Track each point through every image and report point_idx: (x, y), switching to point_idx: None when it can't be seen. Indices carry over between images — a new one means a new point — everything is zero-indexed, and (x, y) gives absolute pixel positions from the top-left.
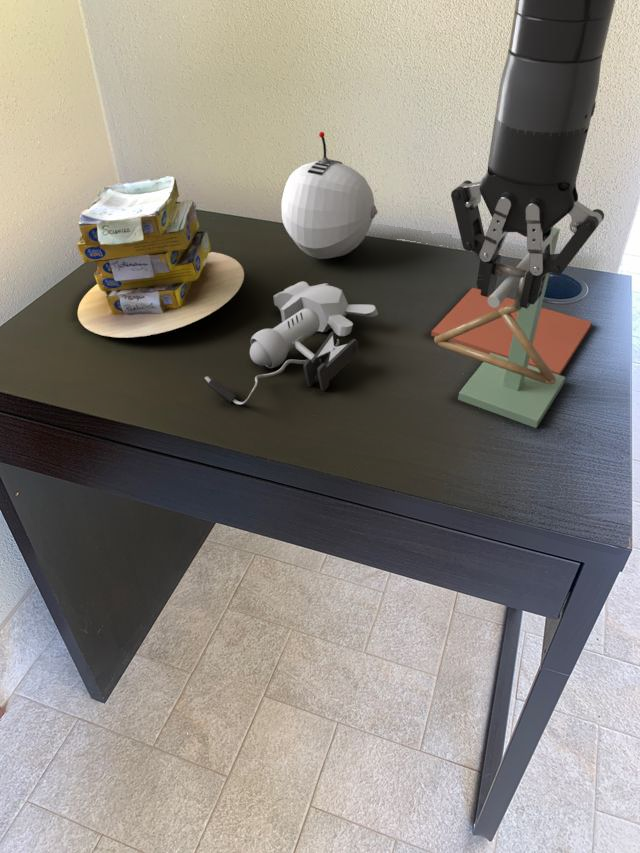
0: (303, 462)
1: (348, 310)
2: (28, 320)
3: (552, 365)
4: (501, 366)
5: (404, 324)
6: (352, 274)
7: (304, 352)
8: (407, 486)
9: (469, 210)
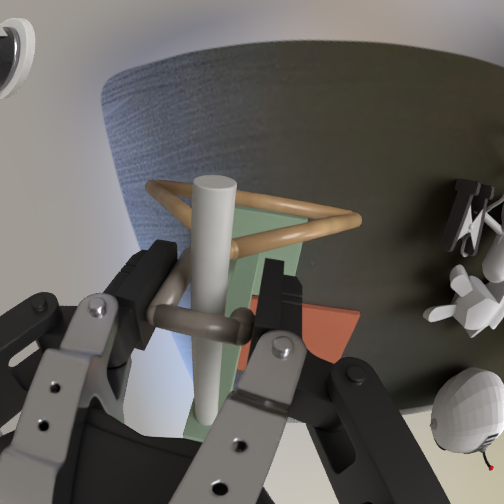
0: (439, 54)
1: (454, 306)
2: None
3: None
4: None
5: (389, 318)
6: (439, 364)
7: (492, 219)
8: (318, 46)
9: (377, 501)
